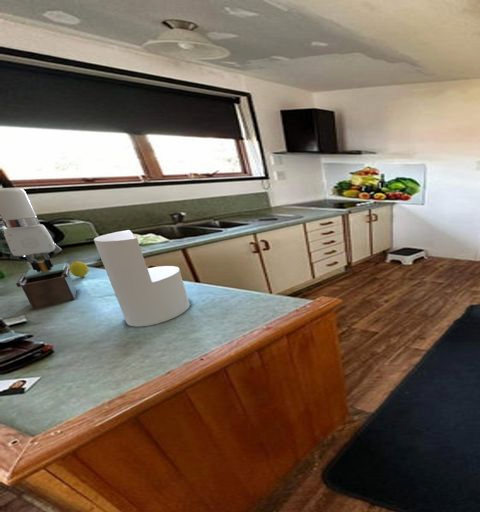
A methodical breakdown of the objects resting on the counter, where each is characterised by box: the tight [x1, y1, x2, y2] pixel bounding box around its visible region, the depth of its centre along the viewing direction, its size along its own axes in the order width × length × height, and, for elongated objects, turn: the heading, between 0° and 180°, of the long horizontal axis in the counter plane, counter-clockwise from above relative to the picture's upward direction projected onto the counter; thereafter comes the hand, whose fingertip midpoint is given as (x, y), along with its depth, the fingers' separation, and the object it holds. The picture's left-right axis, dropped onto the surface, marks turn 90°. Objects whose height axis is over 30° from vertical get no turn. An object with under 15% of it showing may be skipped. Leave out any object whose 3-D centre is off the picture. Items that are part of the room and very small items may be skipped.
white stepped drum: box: [93, 229, 191, 327], centre depth 89 cm, size 17×17×28 cm
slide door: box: [25, 260, 67, 279], centre depth 106 cm, size 10×11×5 cm
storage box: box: [15, 265, 77, 311], centre depth 103 cm, size 12×12×11 cm
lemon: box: [69, 260, 89, 278], centre depth 125 cm, size 6×6×8 cm
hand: (44, 269), depth 104 cm, fingers closed on slide door, 2 cm apart
